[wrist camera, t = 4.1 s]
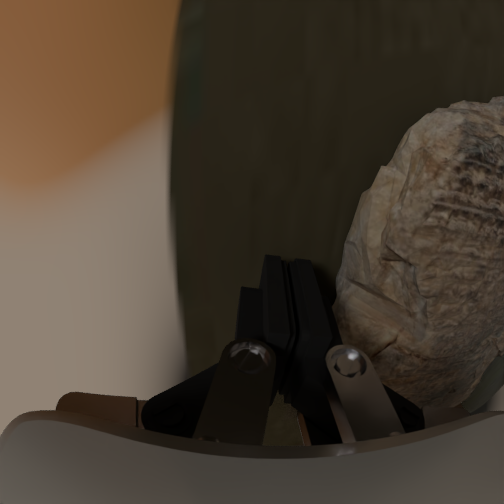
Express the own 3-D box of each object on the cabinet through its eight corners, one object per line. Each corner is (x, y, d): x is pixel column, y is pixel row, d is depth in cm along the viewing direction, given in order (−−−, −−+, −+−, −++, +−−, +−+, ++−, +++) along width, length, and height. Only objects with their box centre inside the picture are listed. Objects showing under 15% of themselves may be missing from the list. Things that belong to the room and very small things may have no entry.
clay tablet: (349, 38, 7) (281, 403, 16) (419, -6, 3) (287, 468, 12) (542, 140, 8) (442, 383, 17) (598, 164, 3) (463, 427, 12)
